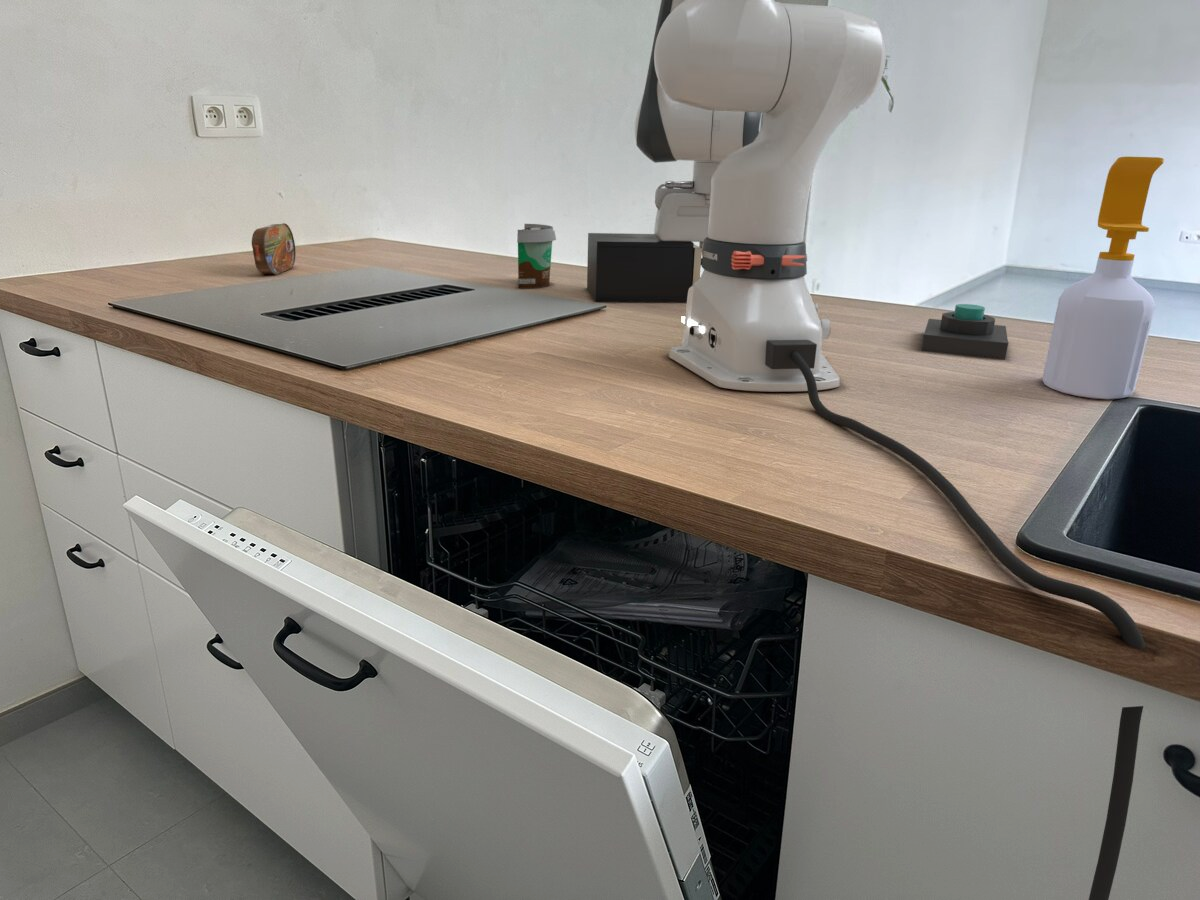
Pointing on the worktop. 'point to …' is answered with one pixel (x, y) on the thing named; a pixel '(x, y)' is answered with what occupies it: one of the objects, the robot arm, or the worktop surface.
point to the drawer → (696, 264)
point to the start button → (969, 311)
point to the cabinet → (638, 268)
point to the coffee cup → (534, 255)
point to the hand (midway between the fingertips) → (714, 270)
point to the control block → (966, 337)
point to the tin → (273, 249)
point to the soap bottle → (1106, 300)
